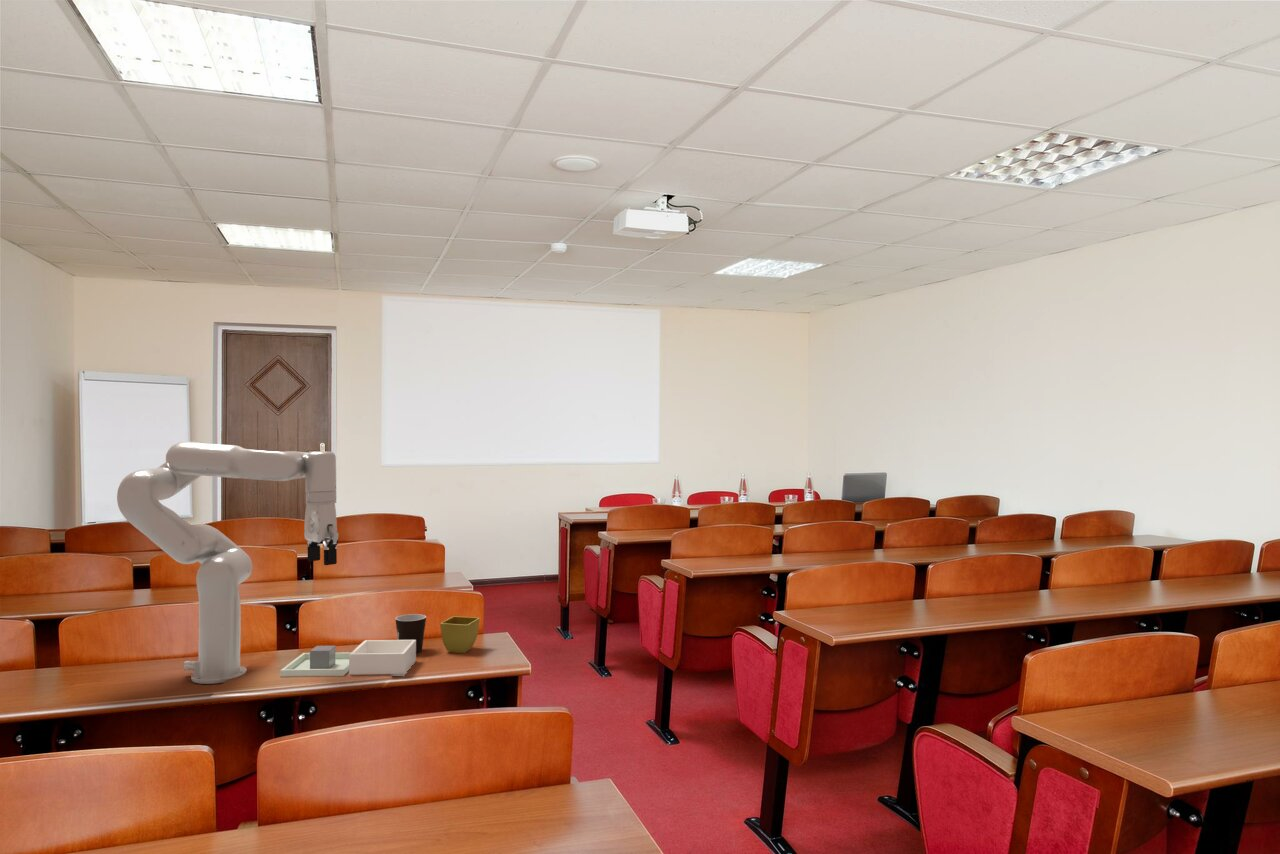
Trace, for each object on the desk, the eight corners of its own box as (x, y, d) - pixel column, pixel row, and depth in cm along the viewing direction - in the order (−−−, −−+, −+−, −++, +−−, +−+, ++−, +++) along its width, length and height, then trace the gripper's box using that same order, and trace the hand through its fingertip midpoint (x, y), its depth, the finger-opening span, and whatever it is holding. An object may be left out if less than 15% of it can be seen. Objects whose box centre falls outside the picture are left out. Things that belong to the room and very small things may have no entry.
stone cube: (309, 669, 204) (310, 650, 204) (316, 664, 209) (316, 645, 209) (329, 669, 204) (329, 650, 204) (335, 664, 209) (335, 645, 209)
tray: (280, 679, 198) (280, 670, 198) (303, 661, 214) (303, 652, 214) (343, 678, 199) (343, 669, 199) (361, 660, 215) (362, 652, 215)
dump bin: (348, 677, 200) (349, 654, 200) (364, 661, 214) (364, 640, 214) (403, 676, 201) (404, 653, 201) (415, 661, 215) (416, 639, 215)
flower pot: (467, 656, 220) (467, 624, 220) (439, 654, 222) (439, 622, 222) (479, 647, 229) (480, 617, 229) (452, 646, 231) (452, 616, 231)
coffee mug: (420, 656, 220) (421, 621, 220) (390, 656, 220) (391, 620, 220) (432, 645, 231) (432, 611, 232) (403, 645, 231) (404, 611, 232)
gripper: (293, 497, 207) (294, 561, 207) (321, 500, 195) (322, 568, 195) (320, 495, 213) (321, 557, 213) (349, 498, 201) (350, 564, 201)
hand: (322, 562), depth 204 cm, fingers open, 9 cm apart
